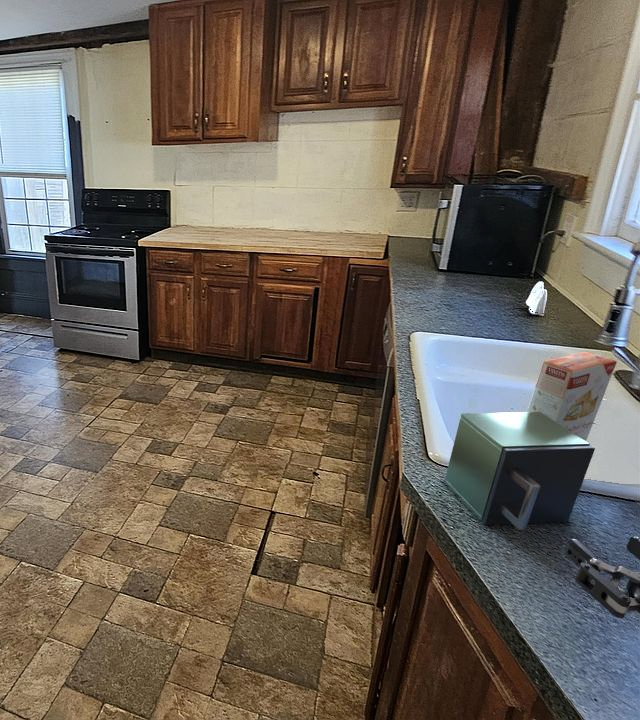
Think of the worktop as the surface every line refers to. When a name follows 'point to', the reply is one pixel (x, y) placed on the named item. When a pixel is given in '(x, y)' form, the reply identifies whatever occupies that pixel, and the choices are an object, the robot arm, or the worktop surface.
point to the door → (537, 485)
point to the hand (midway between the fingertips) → (599, 543)
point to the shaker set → (537, 299)
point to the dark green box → (496, 450)
